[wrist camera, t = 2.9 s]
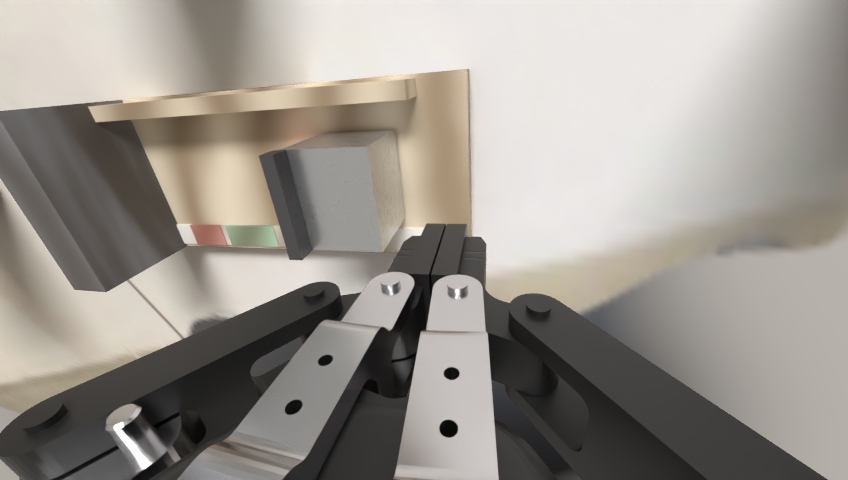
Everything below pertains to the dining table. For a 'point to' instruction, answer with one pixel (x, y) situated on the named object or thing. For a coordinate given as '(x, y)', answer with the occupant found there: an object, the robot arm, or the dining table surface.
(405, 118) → the beige long open tray
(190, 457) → the robot arm
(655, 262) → the dining table surface
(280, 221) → the carriage
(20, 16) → the dining table surface
